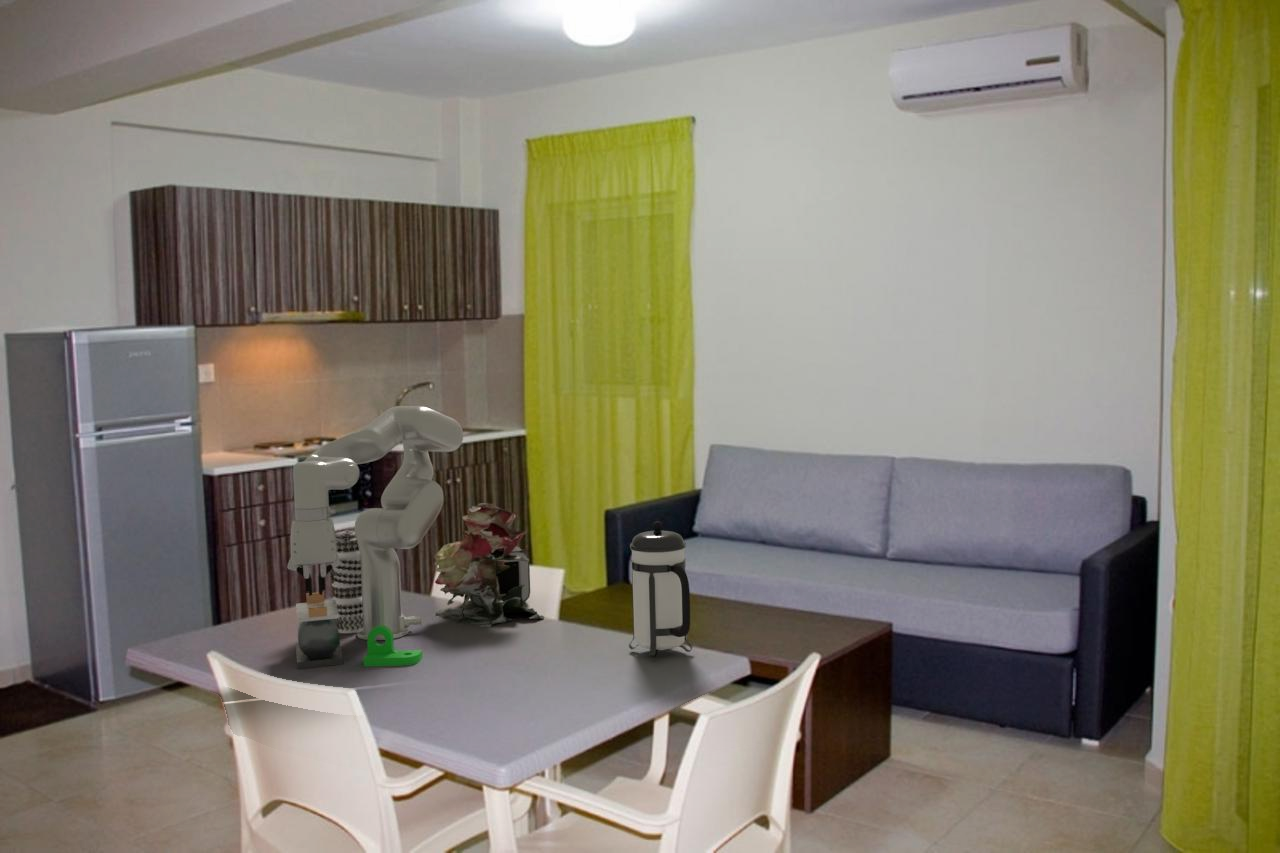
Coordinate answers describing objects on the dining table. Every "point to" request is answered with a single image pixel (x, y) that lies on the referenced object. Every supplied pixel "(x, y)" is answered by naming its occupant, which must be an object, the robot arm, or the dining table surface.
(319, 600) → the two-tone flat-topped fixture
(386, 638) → the mechanical part
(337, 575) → the decorative candle
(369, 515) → the robot arm
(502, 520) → the rose bouquet
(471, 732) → the dining table surface
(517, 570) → the alarm clock
